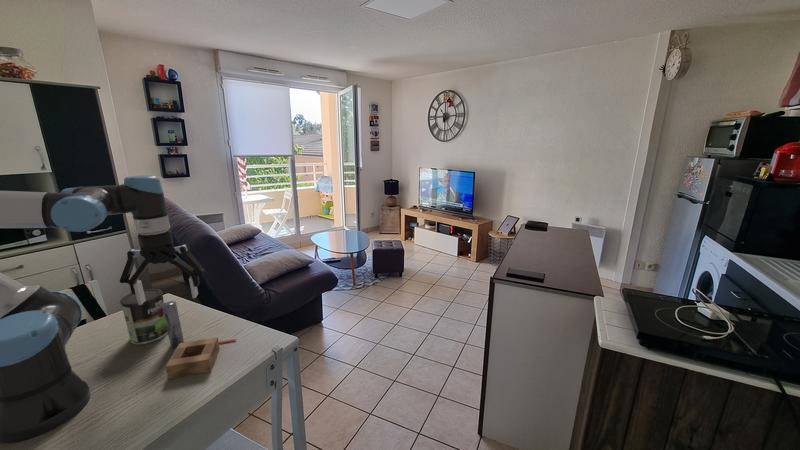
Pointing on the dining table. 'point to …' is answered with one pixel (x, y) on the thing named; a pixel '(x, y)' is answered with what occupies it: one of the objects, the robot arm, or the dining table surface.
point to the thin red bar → (227, 341)
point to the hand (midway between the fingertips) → (169, 299)
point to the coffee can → (145, 317)
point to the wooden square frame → (193, 358)
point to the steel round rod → (173, 323)
